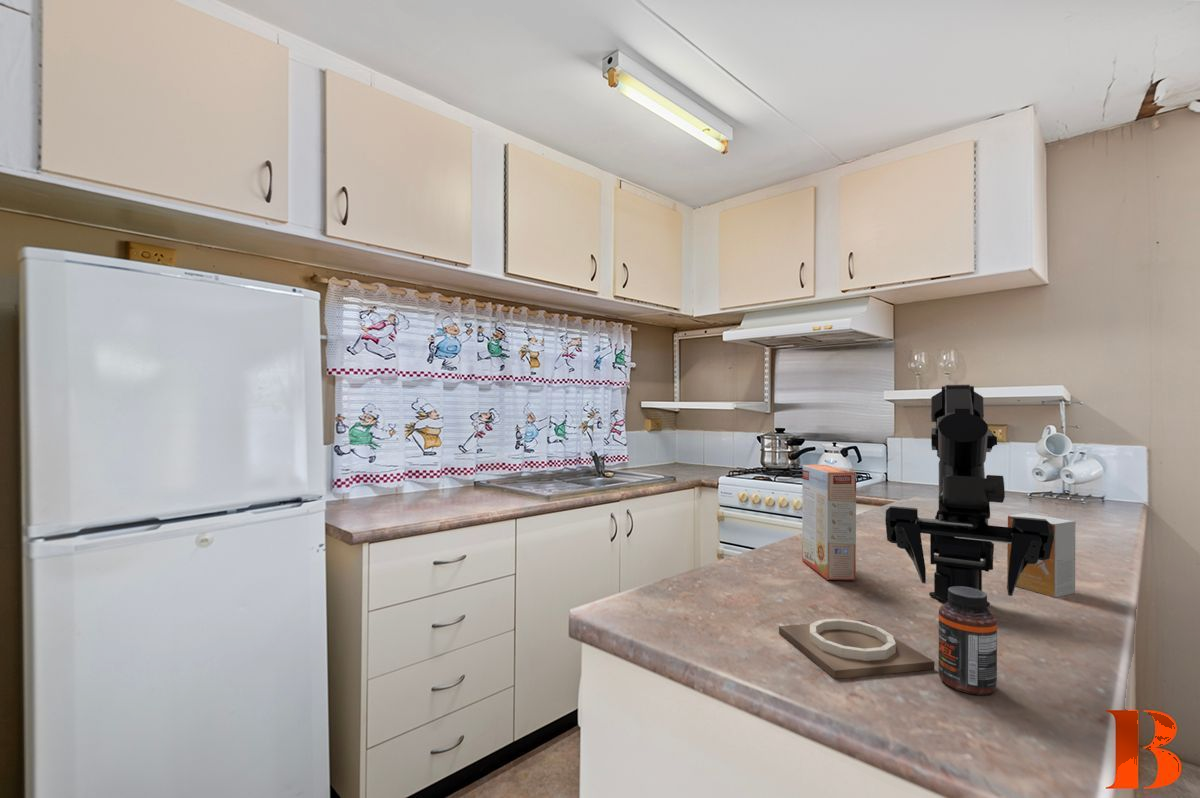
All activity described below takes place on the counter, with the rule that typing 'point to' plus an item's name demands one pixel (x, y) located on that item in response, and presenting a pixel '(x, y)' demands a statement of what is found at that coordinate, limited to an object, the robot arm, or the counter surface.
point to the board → (846, 667)
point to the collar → (852, 652)
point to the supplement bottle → (967, 642)
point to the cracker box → (829, 521)
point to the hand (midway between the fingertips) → (965, 587)
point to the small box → (1051, 561)
